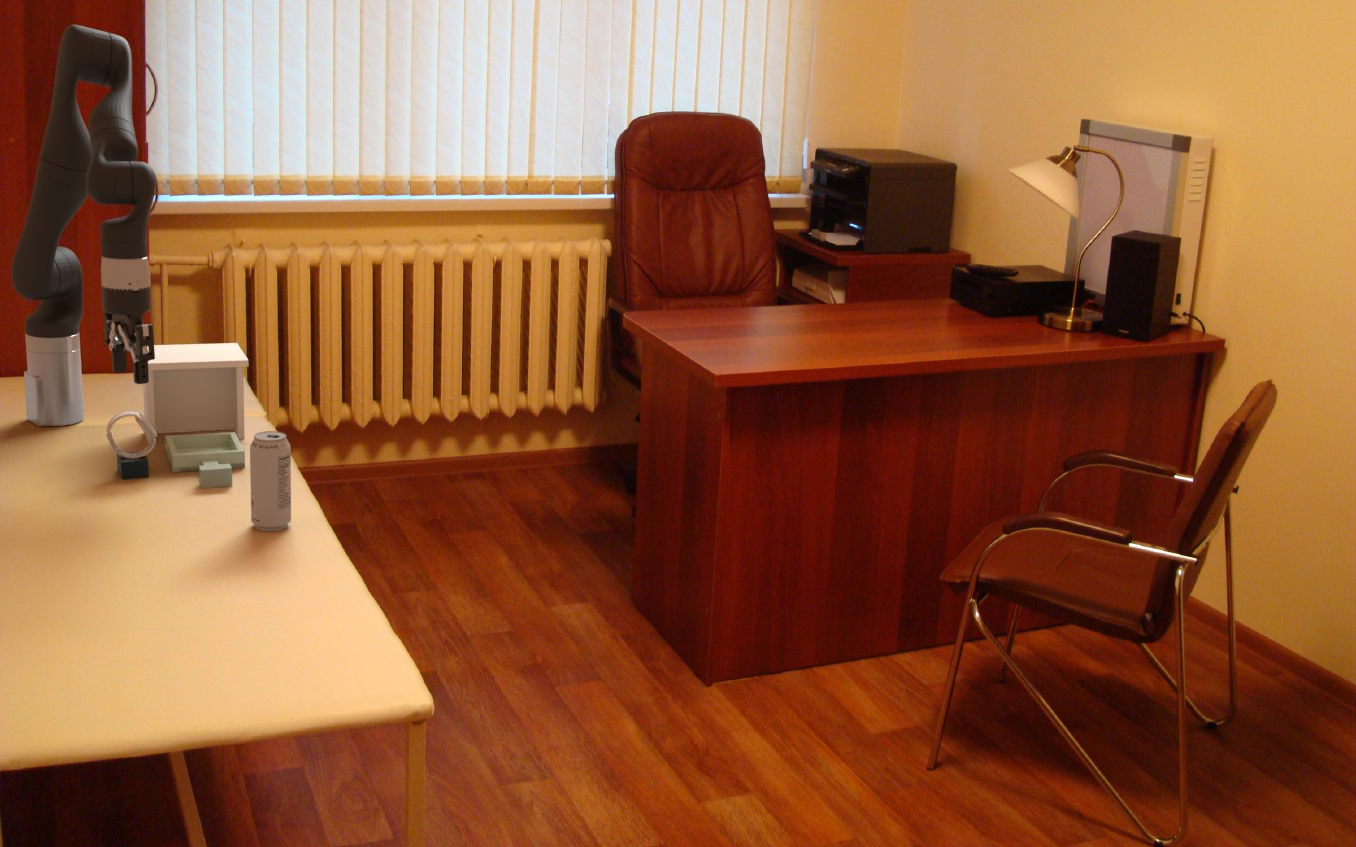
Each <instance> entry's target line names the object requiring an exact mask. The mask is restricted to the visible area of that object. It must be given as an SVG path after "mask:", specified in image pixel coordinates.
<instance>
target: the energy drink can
mask: <svg viewBox="0 0 1356 847" xmlns="http://www.w3.org/2000/svg"><path fill="white" fill-rule="evenodd" d="M291 453H292V452H291V444H290V442H289V440H288V438H287V434H286V433H284V432H282V431H278V430H277V431H276V430H275V431H274V430H273V431H272V430H266V431H260V432H259V431H258V432H257V433H255V434H254V435H253V440H252V442H251V443H250V445H249V463H250V464H249V471H250V472H249V473H250V517H251V518H250V521H251V523H252V524H253V526H254V528H255V529H256V530H258V531H261V532H270V533H271V532H278V531H282V530H285V529H286V528H287V527H288V525H289V523H291V521H292V482H291V481H292V478H291V477H292V475H291V474H292V469H291V468H292V466H291V465H292V464H291V463H292V458H291Z"/></svg>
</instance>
